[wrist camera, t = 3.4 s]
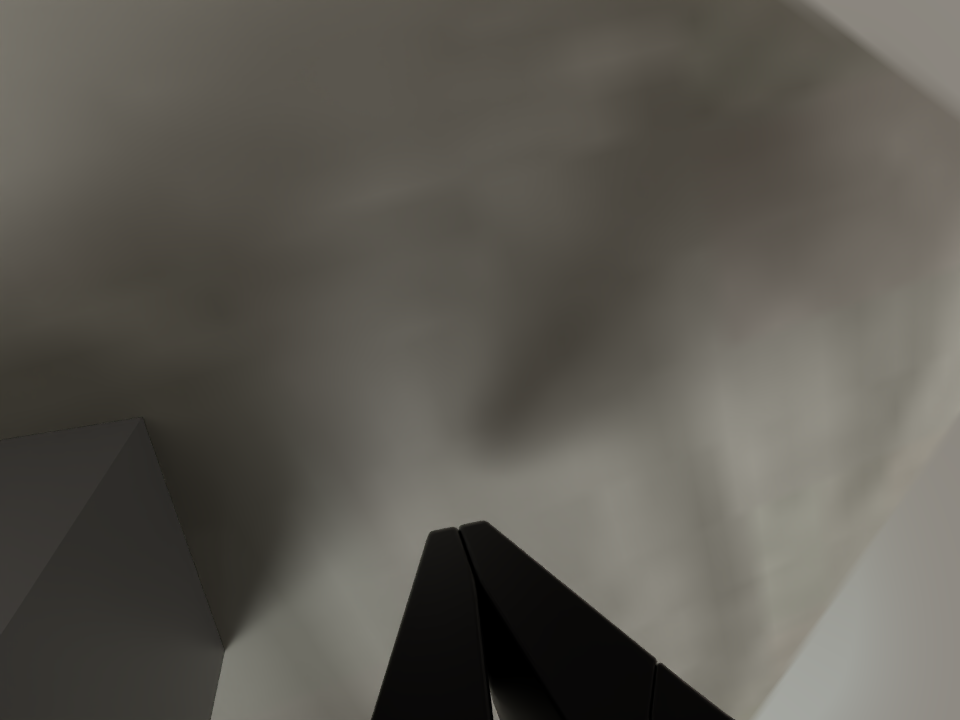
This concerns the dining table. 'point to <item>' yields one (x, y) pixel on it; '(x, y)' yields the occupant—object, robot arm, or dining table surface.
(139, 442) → the plug
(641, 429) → the dining table surface
